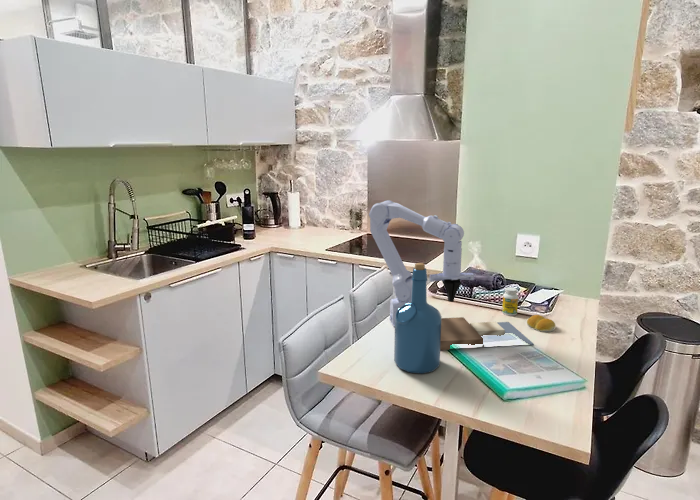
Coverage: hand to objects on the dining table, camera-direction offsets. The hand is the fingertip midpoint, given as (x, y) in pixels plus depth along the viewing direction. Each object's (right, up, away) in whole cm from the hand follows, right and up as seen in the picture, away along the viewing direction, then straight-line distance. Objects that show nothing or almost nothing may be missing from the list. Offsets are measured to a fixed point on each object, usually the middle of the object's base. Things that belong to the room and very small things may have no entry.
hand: (450, 300), depth 151 cm
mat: (+15, -11, -2) cm, 19 cm away
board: (0, -12, -3) cm, 12 cm away
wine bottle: (-15, -16, -21) cm, 30 cm away
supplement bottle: (+26, -7, +17) cm, 31 cm away
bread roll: (+32, -10, +4) cm, 34 cm away
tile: (+11, -11, -2) cm, 16 cm away
